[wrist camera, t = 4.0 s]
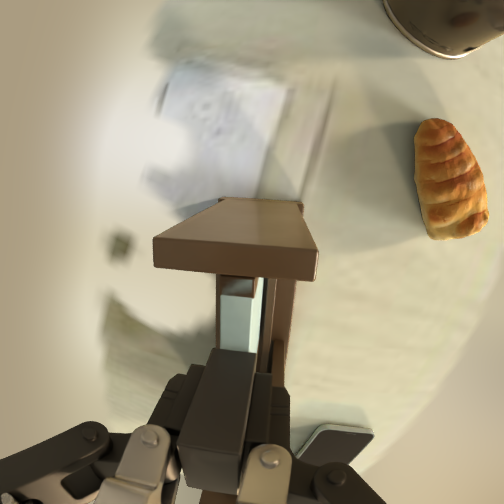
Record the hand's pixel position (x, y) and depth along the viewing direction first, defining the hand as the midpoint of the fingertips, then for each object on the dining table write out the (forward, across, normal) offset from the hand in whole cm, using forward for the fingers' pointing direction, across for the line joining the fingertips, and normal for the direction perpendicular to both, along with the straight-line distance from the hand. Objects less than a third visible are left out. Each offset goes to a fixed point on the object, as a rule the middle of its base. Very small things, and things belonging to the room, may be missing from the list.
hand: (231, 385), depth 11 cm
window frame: (+13, 0, +5) cm, 13 cm away
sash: (+11, 0, 0) cm, 11 cm away
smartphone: (+13, -10, +24) cm, 29 cm away
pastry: (+13, -15, -9) cm, 21 cm away
